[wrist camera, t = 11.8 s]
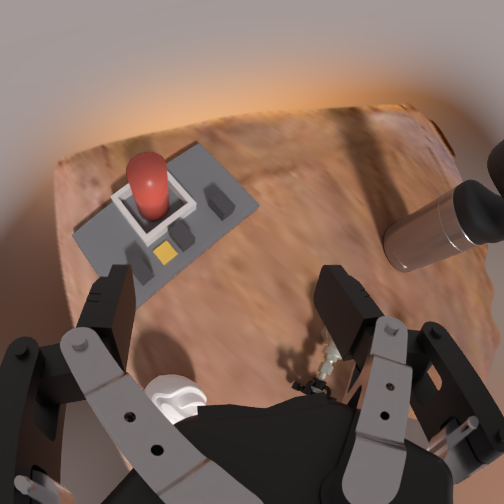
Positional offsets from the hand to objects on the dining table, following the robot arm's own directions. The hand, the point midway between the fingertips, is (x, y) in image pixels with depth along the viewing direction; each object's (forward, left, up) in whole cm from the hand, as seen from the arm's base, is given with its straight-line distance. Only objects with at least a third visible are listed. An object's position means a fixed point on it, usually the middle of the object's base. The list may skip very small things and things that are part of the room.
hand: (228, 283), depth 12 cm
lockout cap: (-5, -16, -26) cm, 30 cm away
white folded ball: (+10, +6, -27) cm, 30 cm away
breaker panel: (-5, -13, -27) cm, 31 cm away
